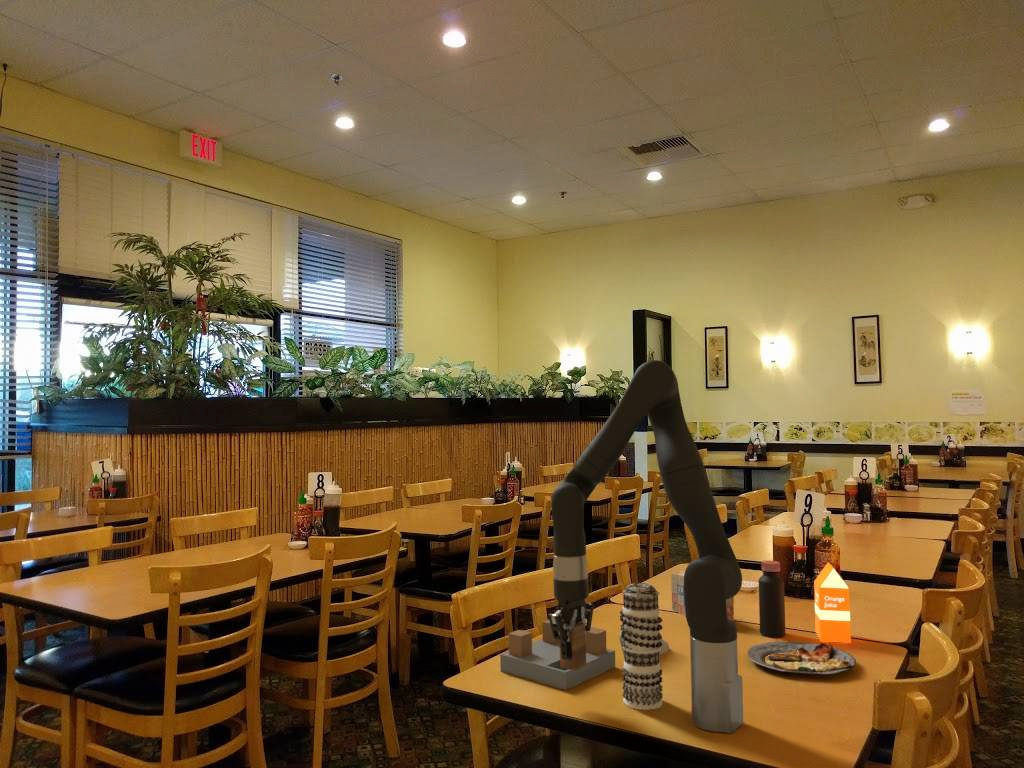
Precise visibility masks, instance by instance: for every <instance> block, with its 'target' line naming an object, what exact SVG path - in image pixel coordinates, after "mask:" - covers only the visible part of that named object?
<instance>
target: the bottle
mask: <svg viewBox="0 0 1024 768" xmlns="http://www.w3.org/2000/svg"><path fill="white" fill-rule="evenodd" d="M761 571H762V575H761V576H760V577H759V578H758V607H759V608H758V610H759V612H758V613H759V634H761V635H762V636H764V637H768V638H774V637H775V638H777V639H778V638H783V637H785V636H786V607H785V605H786V604H785V603H786V602H785V581H784V579H783V578H782V577H781V576H780V573H781V562H780V561H776V560H763V561H761Z"/></svg>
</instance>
